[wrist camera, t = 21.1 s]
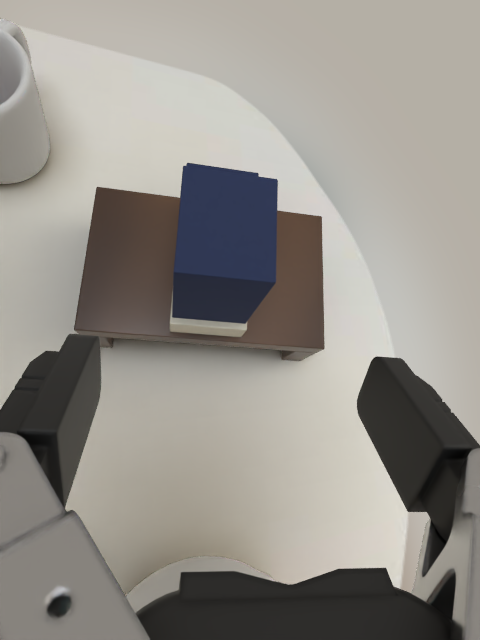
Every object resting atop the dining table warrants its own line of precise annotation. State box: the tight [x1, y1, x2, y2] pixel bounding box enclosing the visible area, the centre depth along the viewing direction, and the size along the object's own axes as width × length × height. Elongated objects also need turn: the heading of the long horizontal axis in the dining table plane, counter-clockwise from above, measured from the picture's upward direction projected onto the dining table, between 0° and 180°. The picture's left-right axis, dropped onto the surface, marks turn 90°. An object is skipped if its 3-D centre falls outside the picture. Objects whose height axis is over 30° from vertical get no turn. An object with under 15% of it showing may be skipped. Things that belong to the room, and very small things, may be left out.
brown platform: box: [74, 187, 324, 361], centre depth 29 cm, size 16×10×5 cm, turn 88°
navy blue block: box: [170, 163, 278, 337], centre depth 22 cm, size 9×5×9 cm, turn 178°
